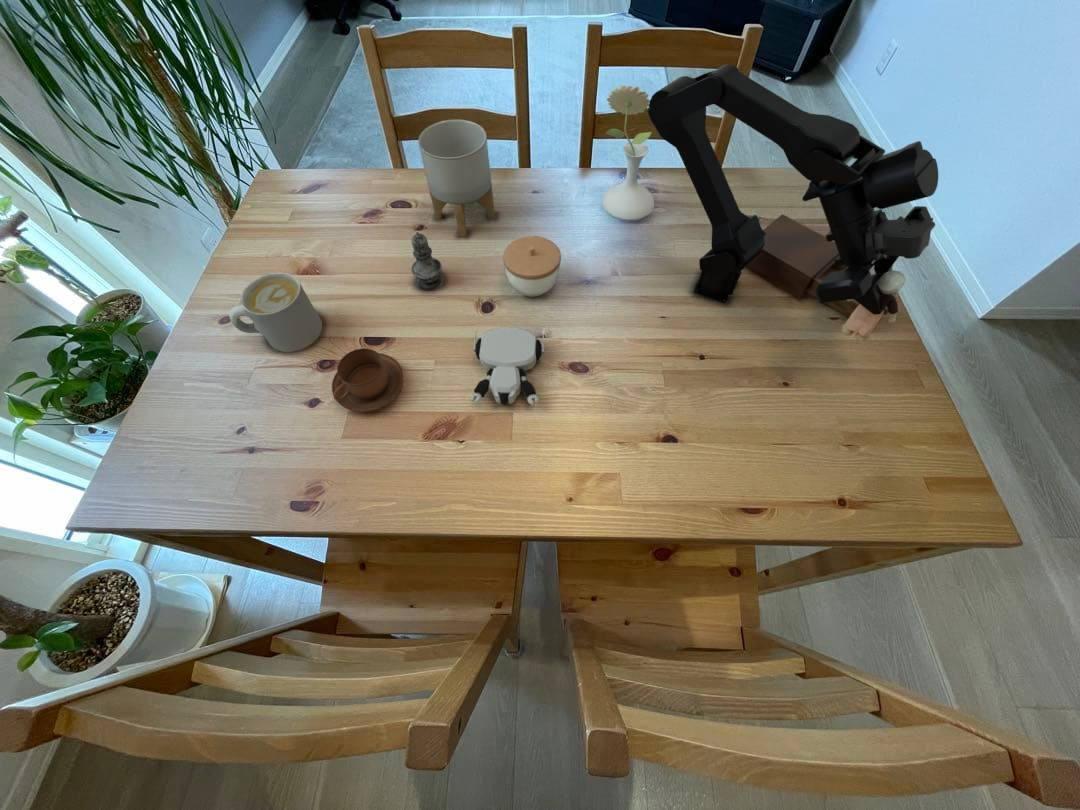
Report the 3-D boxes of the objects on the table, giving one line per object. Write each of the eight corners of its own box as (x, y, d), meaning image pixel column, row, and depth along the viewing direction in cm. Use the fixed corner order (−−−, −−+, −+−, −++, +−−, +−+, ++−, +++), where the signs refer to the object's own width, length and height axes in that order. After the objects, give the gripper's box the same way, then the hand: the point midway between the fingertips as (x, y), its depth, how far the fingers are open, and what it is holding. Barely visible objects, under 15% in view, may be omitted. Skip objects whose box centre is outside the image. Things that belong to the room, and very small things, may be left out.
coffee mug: (325, 309, 98) (304, 270, 90) (318, 349, 93) (295, 312, 85) (255, 314, 98) (227, 275, 89) (243, 355, 93) (213, 318, 84)
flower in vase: (661, 203, 114) (687, 83, 92) (638, 232, 109) (659, 113, 87) (609, 184, 118) (622, 65, 96) (585, 212, 112) (593, 93, 91)
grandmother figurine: (877, 332, 85) (927, 274, 74) (874, 347, 83) (924, 291, 72) (830, 315, 87) (872, 256, 76) (825, 330, 85) (867, 272, 74)
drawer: (896, 303, 96) (908, 289, 92) (868, 333, 92) (880, 319, 89) (830, 266, 101) (839, 251, 98) (801, 293, 97) (809, 278, 94)
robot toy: (541, 413, 86) (544, 339, 93) (541, 400, 82) (544, 324, 89) (469, 411, 86) (478, 338, 94) (465, 398, 82) (474, 323, 89)
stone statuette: (410, 287, 101) (394, 238, 91) (424, 267, 104) (410, 218, 94) (436, 295, 100) (423, 246, 90) (450, 275, 103) (439, 225, 93)
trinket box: (530, 314, 97) (528, 277, 89) (494, 284, 101) (490, 246, 93) (571, 286, 100) (573, 249, 92) (535, 258, 105) (534, 220, 97)
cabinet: (830, 269, 102) (844, 247, 97) (798, 299, 98) (811, 277, 93) (772, 236, 107) (782, 214, 103) (739, 263, 103) (748, 241, 98)
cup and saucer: (384, 425, 84) (373, 405, 79) (322, 404, 87) (307, 384, 81) (418, 370, 90) (409, 348, 85) (359, 352, 93) (347, 329, 87)
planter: (493, 236, 109) (483, 157, 94) (432, 236, 109) (413, 158, 94) (496, 198, 116) (488, 119, 100) (439, 198, 116) (423, 119, 101)
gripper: (883, 234, 63) (916, 339, 68) (942, 167, 70) (969, 267, 75) (798, 254, 72) (833, 344, 78) (858, 193, 79) (886, 280, 85)
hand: (882, 308), depth 79 cm, fingers closed on grandmother figurine, 3 cm apart
